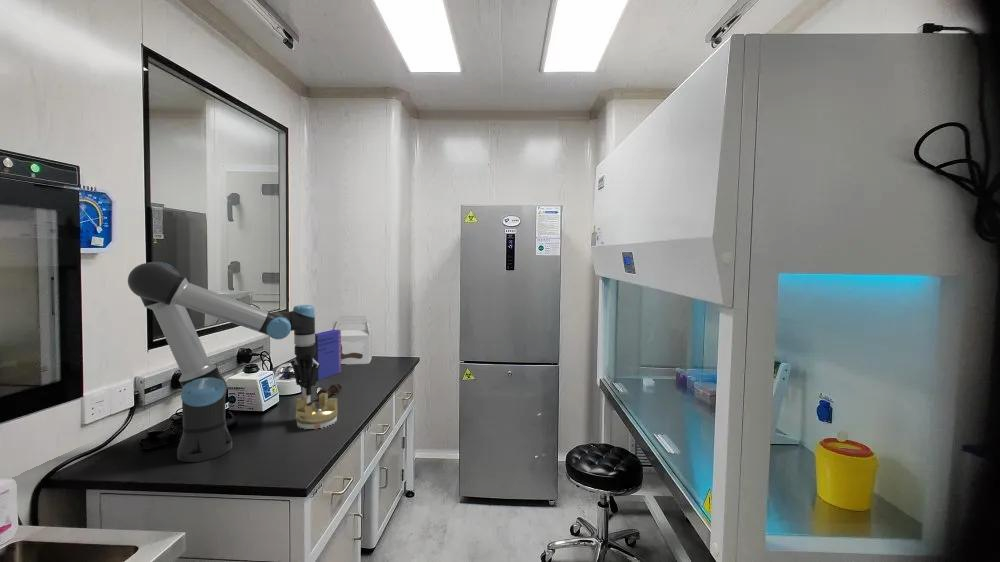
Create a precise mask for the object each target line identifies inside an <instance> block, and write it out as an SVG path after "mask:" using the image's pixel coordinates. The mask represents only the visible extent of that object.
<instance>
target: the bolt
mask: <svg viewBox="0 0 1000 562" xmlns="http://www.w3.org/2000/svg"><path fill="white" fill-rule="evenodd" d="M341 390H342V385H341V384H339V383H337V384H331V385H330V387H329V388H328V389H325V388H324V389H323V388H321V389H319V391H318V392H317V395H316V397H317V399H318V400H319V395H320V394H321V393H328V399H329V398H331V396H332V395H335V394H334V393H337V394H339V392H340V391H341Z"/></svg>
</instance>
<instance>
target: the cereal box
mask: <svg viewBox="0 0 1000 562" xmlns="http://www.w3.org/2000/svg"><path fill="white" fill-rule="evenodd" d="M314 344H315V349H316V352H315V354H314V357H315V361H316V362H317V363H319V362H320V366H319V368H318V374H317V379H316V382H319V380H320V381H322V380H325V379H327V377H328V378H330V377H329V376H331V377H333V376H335V375H334V374H336V375H338V374H337V373H339V374H341V373H342V365H341V345H342V341H341V329H338V330H333V329H331V330H330V329H329V330H326V331H322V332H318V333H315V343H314ZM340 372H341V373H340ZM332 375H333V376H332ZM324 378H325V379H324ZM321 379H322V380H321Z"/></svg>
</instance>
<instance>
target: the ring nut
mask: <svg viewBox="0 0 1000 562" xmlns="http://www.w3.org/2000/svg"><path fill="white" fill-rule="evenodd" d="M295 401H296V406H295V407H296V410H295V421H296V423H297V422H299V423H303V424H317V423H323V422H327V421H330V420H332V419H334V418H335V417H337V418H338V413H339V412H338V410H339V409H338V397H329V399H328V393H321V394H320V395H319V399H318V402H309V403H307V398H302V397H298V398H297V399H296V400H295Z"/></svg>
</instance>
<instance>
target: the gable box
mask: <svg viewBox="0 0 1000 562" xmlns="http://www.w3.org/2000/svg"><path fill="white" fill-rule="evenodd" d="M336 319H337V320H336V321H333V322H332V330H339V325H364V327H365V328H364V329H347V330H346V329H344V330H341V329H340V330H341V342H349V343H355V342H363V344H364V345H363V348H362V351H361V353H359V352H350V353H343V345H342V344H341V364H346V365H368V364H370V363H371V361H372V359H373V357H372V355H373V354H372V351H373V349H372V347H373V346H372V342H373V340H372V335H373V334H372V329H371V321H368V320H367V318H366V316H365V315H362V316H361V315H360V316H358V315H357V316H338V317H337V318H336Z"/></svg>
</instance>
